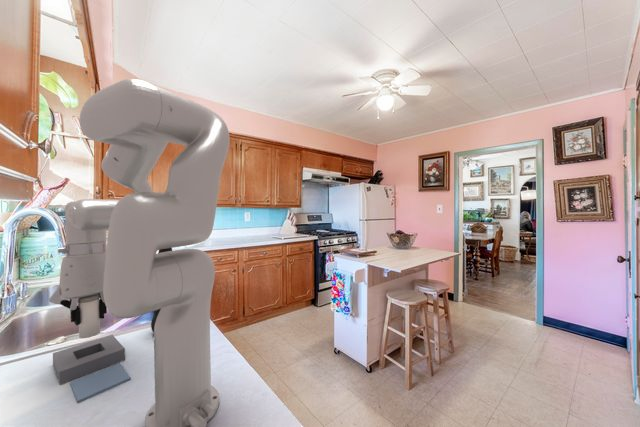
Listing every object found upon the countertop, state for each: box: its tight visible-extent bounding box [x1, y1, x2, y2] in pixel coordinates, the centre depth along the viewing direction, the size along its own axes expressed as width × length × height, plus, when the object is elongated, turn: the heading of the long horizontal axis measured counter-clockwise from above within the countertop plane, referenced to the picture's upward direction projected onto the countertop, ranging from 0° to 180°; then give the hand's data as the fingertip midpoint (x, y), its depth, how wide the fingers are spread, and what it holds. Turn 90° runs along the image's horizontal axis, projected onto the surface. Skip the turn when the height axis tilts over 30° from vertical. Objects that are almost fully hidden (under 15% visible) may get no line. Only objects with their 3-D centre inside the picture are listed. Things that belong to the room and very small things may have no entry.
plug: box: [77, 293, 101, 339], centre depth 65 cm, size 4×4×10 cm
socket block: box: [52, 334, 126, 386], centre depth 65 cm, size 12×12×3 cm
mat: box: [69, 362, 132, 404], centre depth 58 cm, size 9×9×1 cm
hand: (89, 319), depth 65 cm, fingers closed on plug, 4 cm apart
